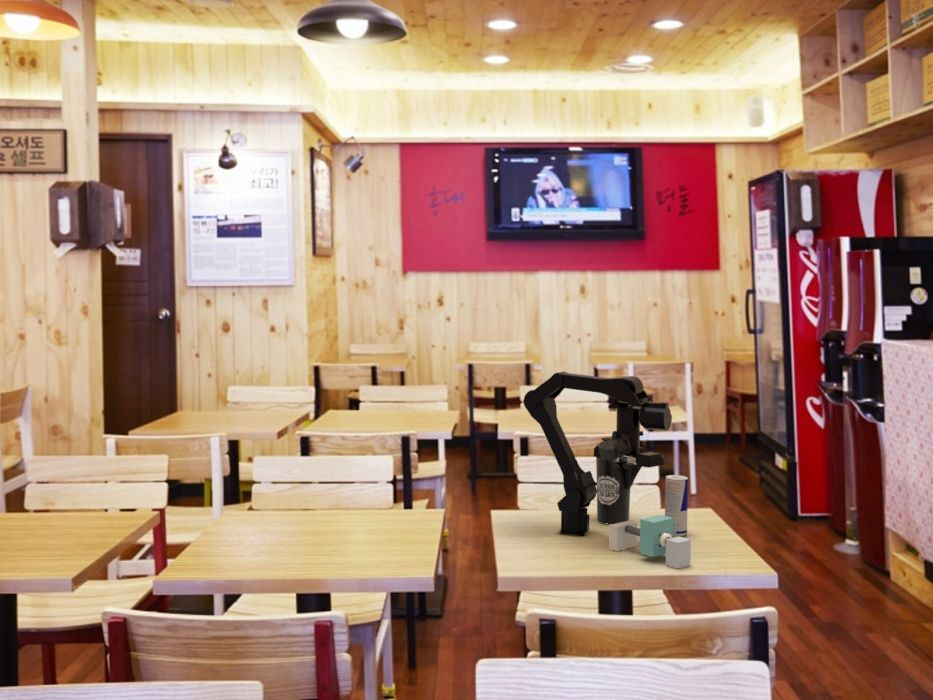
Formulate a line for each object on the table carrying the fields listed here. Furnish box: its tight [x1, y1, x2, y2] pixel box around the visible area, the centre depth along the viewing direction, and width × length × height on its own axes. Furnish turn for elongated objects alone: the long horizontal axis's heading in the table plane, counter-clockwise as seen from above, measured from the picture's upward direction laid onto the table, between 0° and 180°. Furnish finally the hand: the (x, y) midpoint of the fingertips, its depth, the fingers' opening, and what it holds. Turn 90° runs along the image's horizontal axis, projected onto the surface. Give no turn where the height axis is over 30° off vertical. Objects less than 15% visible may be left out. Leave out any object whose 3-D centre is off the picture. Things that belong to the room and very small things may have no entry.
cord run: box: [608, 519, 692, 570], centre depth 211 cm, size 20×7×7 cm, turn 37°
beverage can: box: [664, 474, 689, 537], centre depth 230 cm, size 6×6×15 cm
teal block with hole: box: [639, 514, 674, 558], centre depth 209 cm, size 4×7×8 cm, turn 127°
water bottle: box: [595, 436, 632, 525], centre depth 242 cm, size 10×10×23 cm
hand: (627, 489), depth 223 cm, fingers closed
